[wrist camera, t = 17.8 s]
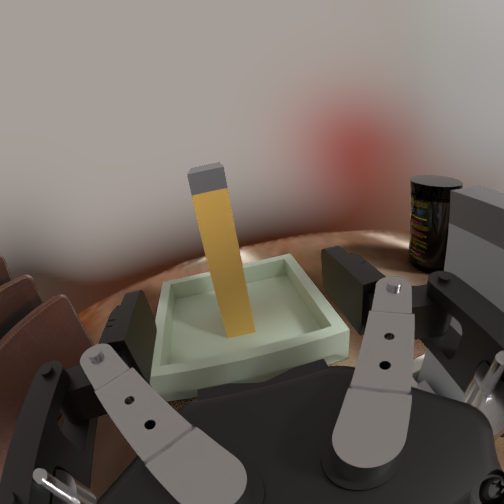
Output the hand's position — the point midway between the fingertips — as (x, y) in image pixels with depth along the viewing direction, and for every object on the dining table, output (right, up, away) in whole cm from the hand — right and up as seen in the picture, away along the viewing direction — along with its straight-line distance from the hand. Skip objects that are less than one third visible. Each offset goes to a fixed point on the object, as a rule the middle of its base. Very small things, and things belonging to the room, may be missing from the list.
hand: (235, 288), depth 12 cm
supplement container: (+23, 0, +19) cm, 30 cm away
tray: (0, -6, +14) cm, 15 cm away
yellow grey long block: (-1, -5, +14) cm, 15 cm away
